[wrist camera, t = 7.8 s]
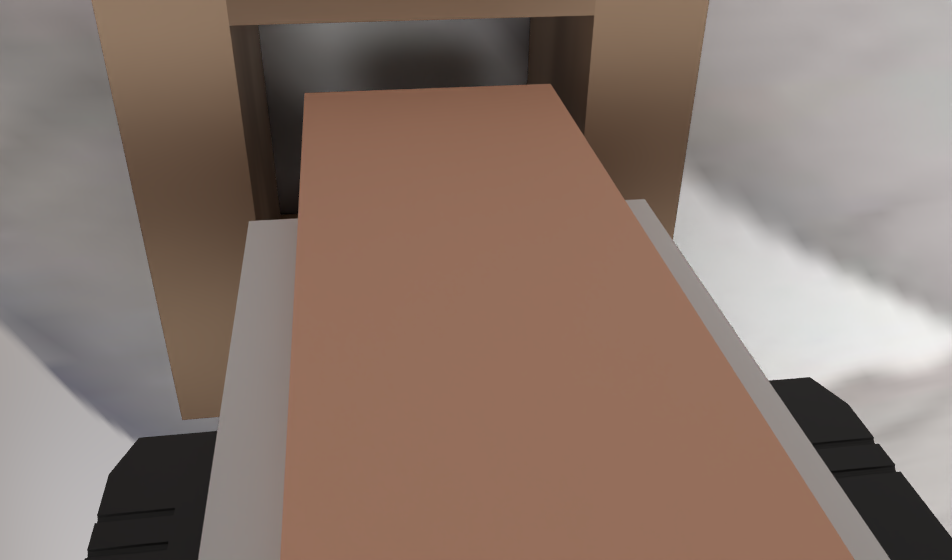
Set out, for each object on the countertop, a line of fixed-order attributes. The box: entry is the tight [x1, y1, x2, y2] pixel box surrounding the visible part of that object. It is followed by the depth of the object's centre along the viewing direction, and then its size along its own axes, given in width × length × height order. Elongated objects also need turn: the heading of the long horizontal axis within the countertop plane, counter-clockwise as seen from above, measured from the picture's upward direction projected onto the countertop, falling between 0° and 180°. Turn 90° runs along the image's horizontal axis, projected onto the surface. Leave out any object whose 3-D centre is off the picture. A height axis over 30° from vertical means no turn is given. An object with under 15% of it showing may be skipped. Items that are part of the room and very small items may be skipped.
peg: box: [280, 84, 855, 560], centre depth 9 cm, size 4×4×14 cm
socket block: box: [92, 0, 709, 420], centre depth 18 cm, size 10×10×5 cm
